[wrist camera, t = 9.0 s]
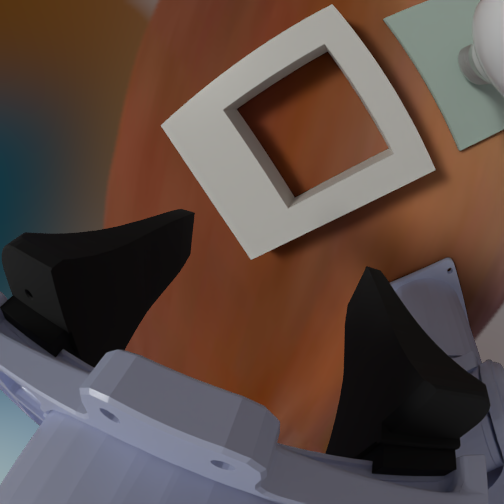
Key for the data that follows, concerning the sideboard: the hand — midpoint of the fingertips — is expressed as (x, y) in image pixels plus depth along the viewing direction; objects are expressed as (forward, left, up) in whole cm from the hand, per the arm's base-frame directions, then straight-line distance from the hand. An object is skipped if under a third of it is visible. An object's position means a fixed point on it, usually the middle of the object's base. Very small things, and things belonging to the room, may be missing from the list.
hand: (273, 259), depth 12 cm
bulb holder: (+4, -1, -10) cm, 11 cm away
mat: (+3, -16, -10) cm, 19 cm away
